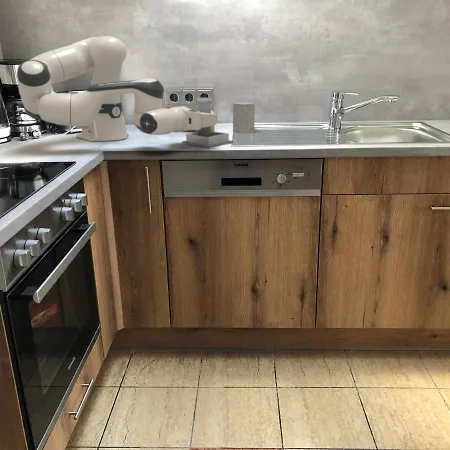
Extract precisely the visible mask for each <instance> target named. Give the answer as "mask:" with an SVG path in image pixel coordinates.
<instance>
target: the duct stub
mask: <svg viewBox="0 0 450 450" xmlns="http://www.w3.org/2000/svg"><path fill="white" fill-rule="evenodd" d="M212 101H213V100H212V97H197V98H196V102H197V111H199V112H203V113H211V111H212V108H211V105H212ZM198 135H199V136H206V137H210V136H211V126H209V127H204V128H201V129H200V130H198Z"/></svg>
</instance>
